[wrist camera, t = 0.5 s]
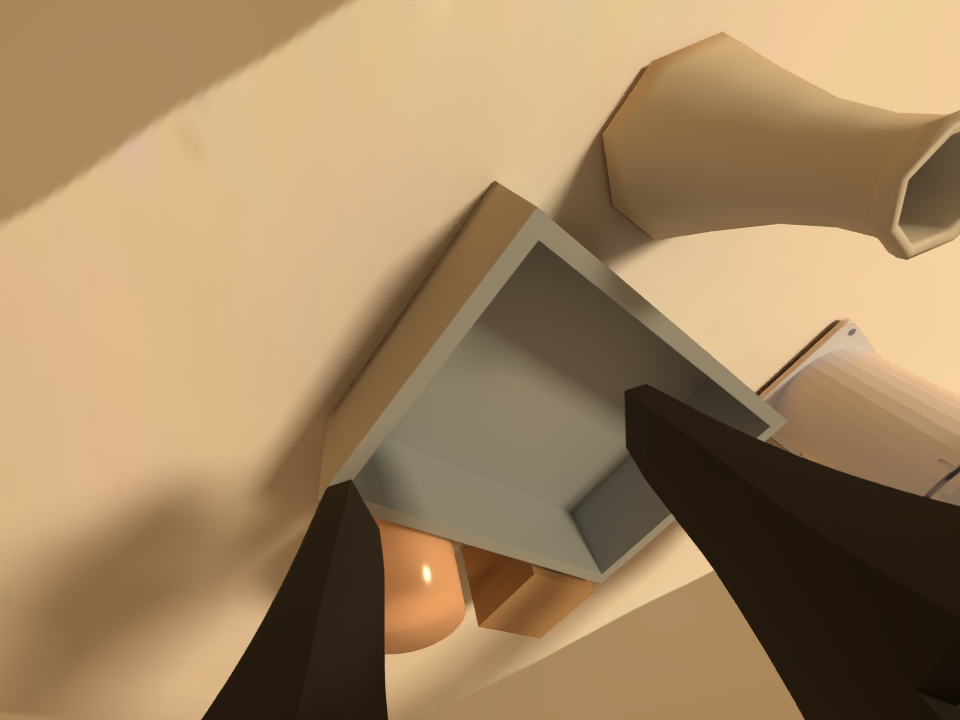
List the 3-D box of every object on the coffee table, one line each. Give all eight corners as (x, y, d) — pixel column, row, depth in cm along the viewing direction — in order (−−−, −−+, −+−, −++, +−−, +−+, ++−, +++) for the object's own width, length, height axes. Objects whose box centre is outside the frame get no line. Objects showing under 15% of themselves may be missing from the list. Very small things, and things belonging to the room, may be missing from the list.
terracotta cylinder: (458, 483, 25) (487, 599, 19) (411, 536, 27) (425, 659, 21) (384, 455, 23) (391, 577, 17) (337, 515, 24) (328, 647, 18)
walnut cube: (561, 521, 29) (594, 591, 25) (516, 565, 31) (540, 637, 27) (508, 501, 27) (534, 573, 23) (462, 549, 29) (478, 626, 24)
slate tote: (717, 368, 25) (788, 421, 21) (567, 514, 29) (601, 584, 25) (494, 180, 17) (537, 207, 13) (326, 420, 21) (317, 499, 17)
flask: (642, 264, 20) (833, 378, 12) (569, 129, 17) (776, 160, 8) (776, 160, 19) (1090, 206, 11) (731, -11, 15) (1163, -141, 7)
